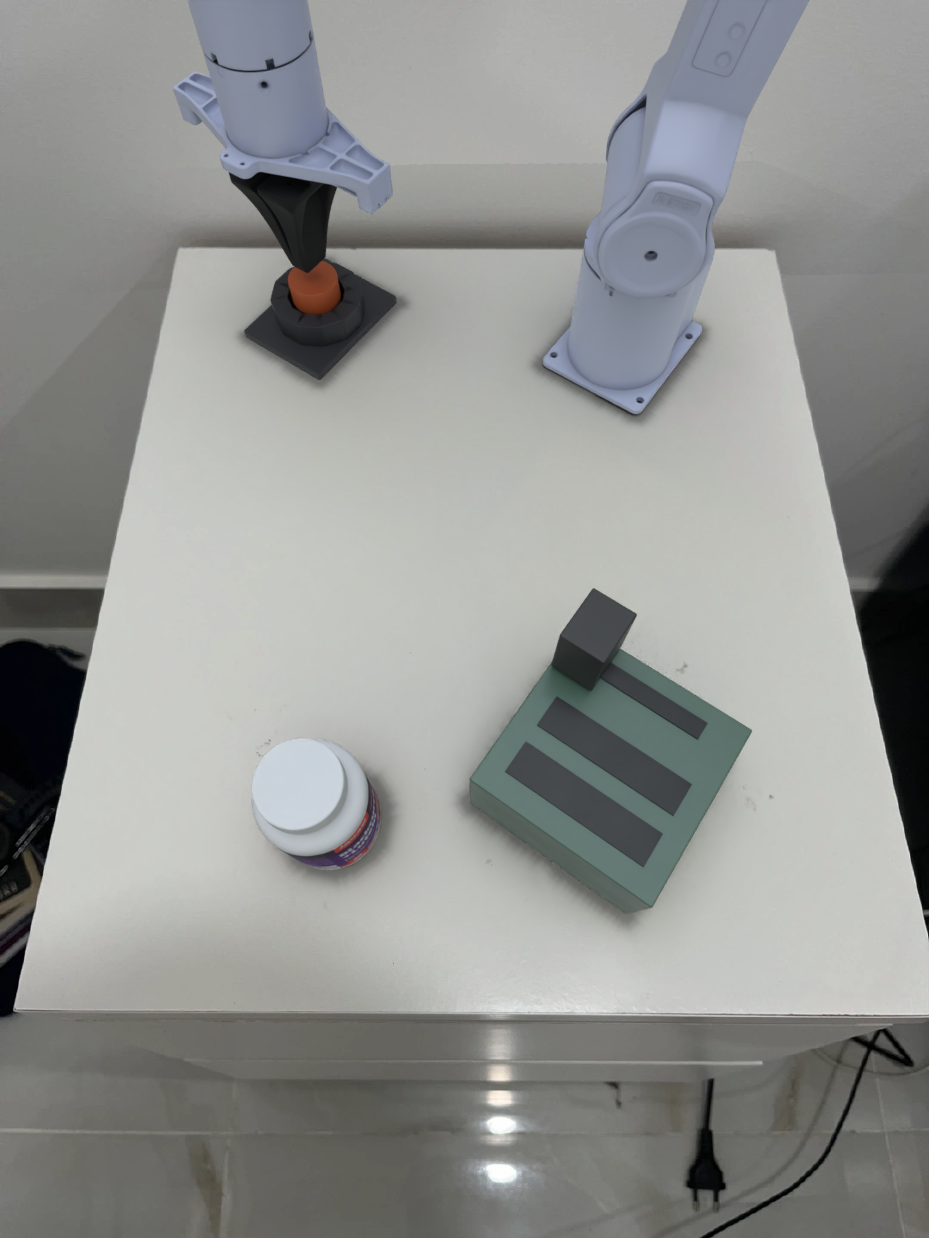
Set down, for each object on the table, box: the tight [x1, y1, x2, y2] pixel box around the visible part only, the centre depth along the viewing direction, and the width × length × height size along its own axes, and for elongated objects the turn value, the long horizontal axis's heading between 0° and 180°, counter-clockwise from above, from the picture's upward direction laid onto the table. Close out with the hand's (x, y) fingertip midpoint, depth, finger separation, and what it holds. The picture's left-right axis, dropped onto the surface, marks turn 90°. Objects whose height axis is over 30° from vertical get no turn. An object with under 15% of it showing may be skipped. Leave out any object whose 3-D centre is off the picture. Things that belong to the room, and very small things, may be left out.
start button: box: [288, 261, 341, 315], centre depth 53 cm, size 3×3×2 cm
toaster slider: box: [550, 588, 638, 691], centre depth 37 cm, size 3×2×4 cm
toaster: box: [469, 648, 753, 915], centre depth 39 cm, size 10×10×6 cm
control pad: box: [243, 257, 397, 381], centre depth 55 cm, size 9×7×2 cm
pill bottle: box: [251, 737, 382, 871], centre depth 37 cm, size 5×5×10 cm
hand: (309, 260), depth 51 cm, fingers closed
